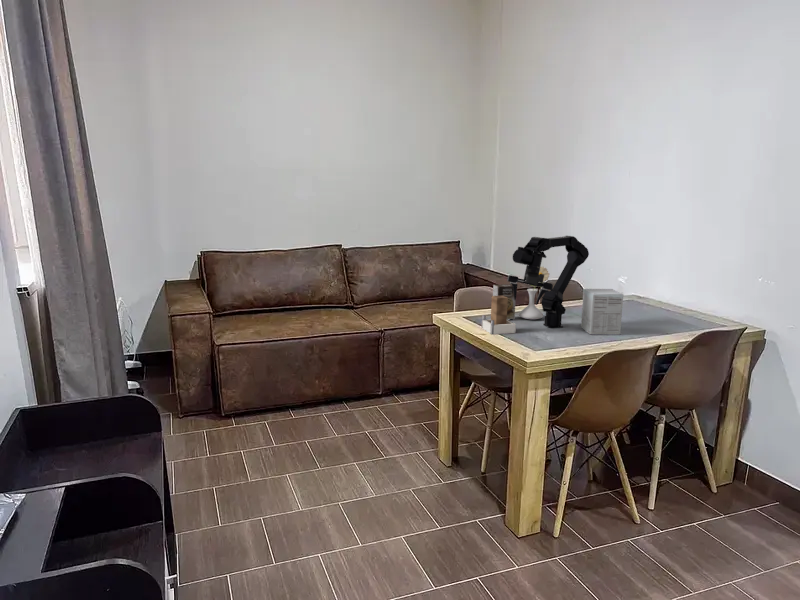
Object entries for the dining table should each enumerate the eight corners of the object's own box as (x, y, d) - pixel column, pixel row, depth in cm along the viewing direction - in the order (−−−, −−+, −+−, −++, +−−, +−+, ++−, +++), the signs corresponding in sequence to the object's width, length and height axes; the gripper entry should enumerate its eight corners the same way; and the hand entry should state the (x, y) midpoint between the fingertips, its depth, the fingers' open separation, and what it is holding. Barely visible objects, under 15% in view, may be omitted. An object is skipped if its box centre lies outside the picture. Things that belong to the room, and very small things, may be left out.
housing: (504, 326, 266) (505, 314, 264) (515, 333, 255) (516, 319, 254) (481, 328, 263) (481, 315, 262) (491, 334, 252) (491, 320, 251)
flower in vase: (516, 320, 279) (519, 266, 274) (520, 315, 289) (522, 263, 284) (545, 322, 275) (548, 268, 270) (548, 317, 285) (551, 264, 280)
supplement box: (621, 335, 253) (624, 294, 250) (589, 334, 253) (592, 294, 250) (609, 327, 266) (612, 288, 263) (580, 327, 266) (582, 288, 263)
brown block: (500, 327, 262) (502, 295, 259) (506, 329, 257) (507, 297, 254) (490, 327, 260) (491, 296, 258) (495, 330, 256) (496, 298, 253)
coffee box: (497, 321, 276) (498, 286, 273) (491, 318, 282) (492, 284, 279) (515, 320, 279) (516, 285, 276) (509, 317, 285) (510, 283, 282)
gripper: (513, 262, 248) (505, 299, 249) (558, 271, 246) (550, 308, 247) (511, 262, 259) (503, 297, 260) (554, 270, 257) (546, 306, 258)
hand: (525, 302), depth 256 cm, fingers open, 9 cm apart
